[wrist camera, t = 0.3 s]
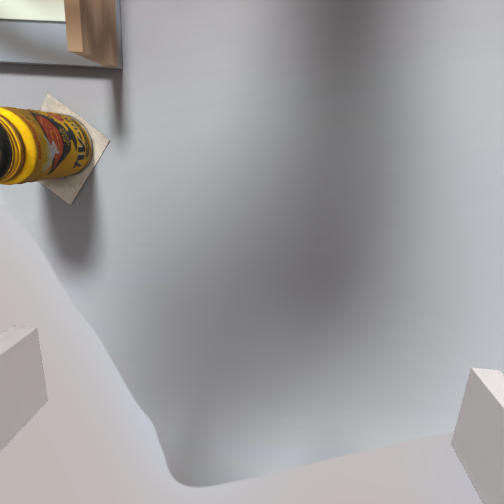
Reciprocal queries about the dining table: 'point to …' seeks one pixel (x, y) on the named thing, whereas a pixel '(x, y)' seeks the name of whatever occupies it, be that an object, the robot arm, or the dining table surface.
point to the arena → (61, 33)
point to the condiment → (48, 147)
